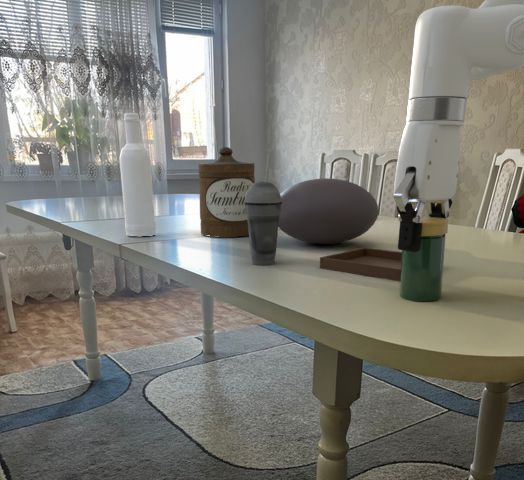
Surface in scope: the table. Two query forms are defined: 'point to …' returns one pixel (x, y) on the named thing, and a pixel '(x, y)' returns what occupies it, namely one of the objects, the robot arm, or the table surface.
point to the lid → (433, 226)
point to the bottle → (136, 181)
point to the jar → (423, 270)
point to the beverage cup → (263, 220)
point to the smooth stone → (326, 211)
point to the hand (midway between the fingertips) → (421, 246)
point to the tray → (366, 263)
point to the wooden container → (224, 195)
